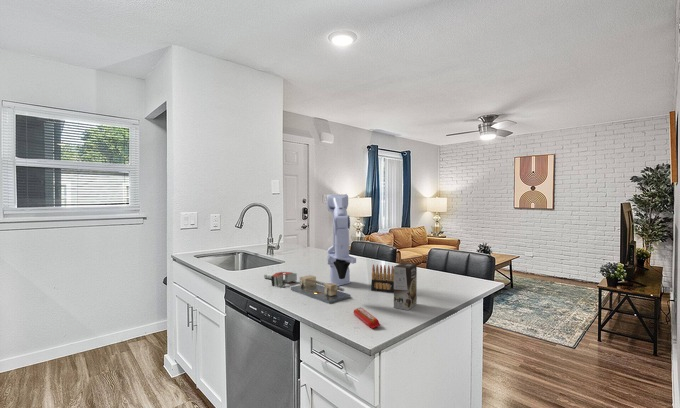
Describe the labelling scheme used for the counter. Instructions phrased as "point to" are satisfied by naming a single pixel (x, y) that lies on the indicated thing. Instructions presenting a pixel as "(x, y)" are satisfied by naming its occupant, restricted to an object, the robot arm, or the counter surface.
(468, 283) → the counter surface
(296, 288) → the bolt plate
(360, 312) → the candy bar
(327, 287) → the trammel slider
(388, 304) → the counter surface
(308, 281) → the trammel beam
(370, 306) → the counter surface
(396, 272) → the coffee box
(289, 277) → the tape dispenser
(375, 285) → the ammunition clip
